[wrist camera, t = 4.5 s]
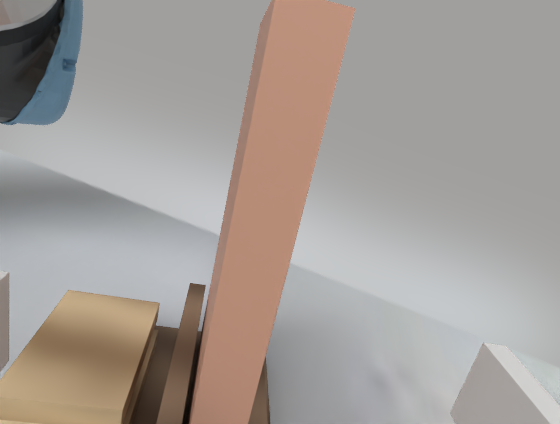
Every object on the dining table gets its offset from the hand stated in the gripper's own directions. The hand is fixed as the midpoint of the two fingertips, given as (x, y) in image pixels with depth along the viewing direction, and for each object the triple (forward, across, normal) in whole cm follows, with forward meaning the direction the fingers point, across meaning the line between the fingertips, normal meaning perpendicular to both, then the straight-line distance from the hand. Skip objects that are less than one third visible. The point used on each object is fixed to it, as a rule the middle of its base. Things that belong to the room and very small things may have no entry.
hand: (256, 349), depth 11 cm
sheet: (+8, 0, -11) cm, 13 cm away
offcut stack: (+8, -7, -11) cm, 15 cm away
